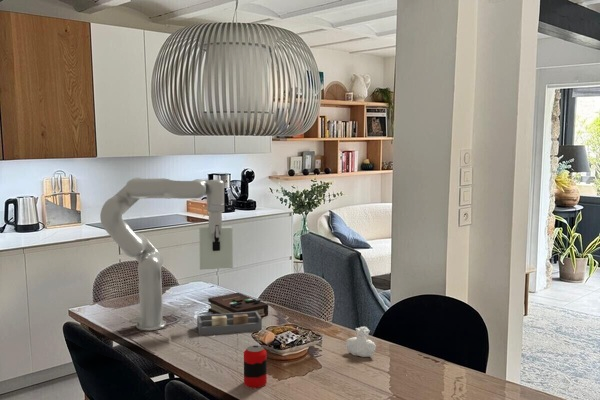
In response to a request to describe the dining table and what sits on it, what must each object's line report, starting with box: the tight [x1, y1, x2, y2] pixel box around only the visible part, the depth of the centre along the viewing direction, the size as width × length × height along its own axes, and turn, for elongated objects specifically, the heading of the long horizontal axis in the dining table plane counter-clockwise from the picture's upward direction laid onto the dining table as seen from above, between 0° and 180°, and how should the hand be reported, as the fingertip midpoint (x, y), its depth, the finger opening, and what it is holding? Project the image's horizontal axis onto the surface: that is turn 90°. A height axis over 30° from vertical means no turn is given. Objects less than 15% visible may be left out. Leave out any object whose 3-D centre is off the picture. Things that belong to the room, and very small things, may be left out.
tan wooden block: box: [233, 314, 248, 324], centre depth 239 cm, size 6×3×6 cm, turn 105°
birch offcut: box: [212, 316, 227, 326], centre depth 237 cm, size 6×3×6 cm, turn 105°
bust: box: [345, 326, 377, 358], centre depth 215 cm, size 12×8×11 cm
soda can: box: [243, 345, 268, 389], centre depth 188 cm, size 8×8×12 cm
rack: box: [196, 311, 263, 336], centre depth 240 cm, size 26×10×6 cm, turn 105°
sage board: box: [198, 226, 234, 270], centre depth 247 cm, size 14×2×18 cm, turn 105°
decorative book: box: [207, 292, 269, 318], centre depth 263 cm, size 19×8×30 cm
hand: (215, 249), depth 247 cm, fingers closed on sage board, 2 cm apart
